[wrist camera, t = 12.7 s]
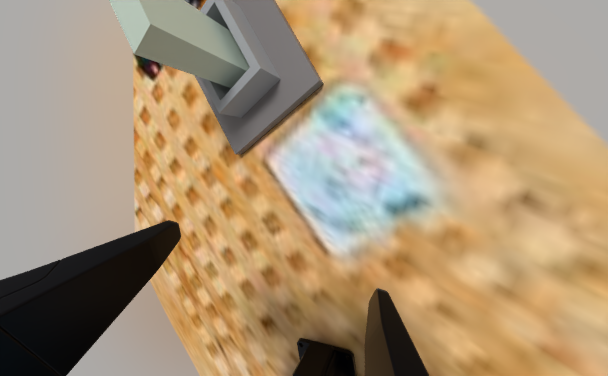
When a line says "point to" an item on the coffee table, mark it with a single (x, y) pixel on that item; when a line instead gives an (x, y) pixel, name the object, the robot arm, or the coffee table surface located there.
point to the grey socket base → (258, 71)
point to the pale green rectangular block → (181, 39)
